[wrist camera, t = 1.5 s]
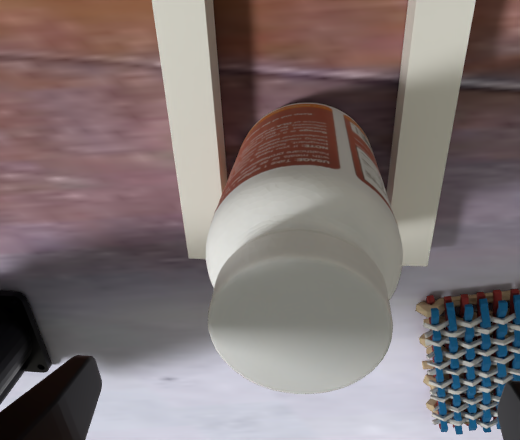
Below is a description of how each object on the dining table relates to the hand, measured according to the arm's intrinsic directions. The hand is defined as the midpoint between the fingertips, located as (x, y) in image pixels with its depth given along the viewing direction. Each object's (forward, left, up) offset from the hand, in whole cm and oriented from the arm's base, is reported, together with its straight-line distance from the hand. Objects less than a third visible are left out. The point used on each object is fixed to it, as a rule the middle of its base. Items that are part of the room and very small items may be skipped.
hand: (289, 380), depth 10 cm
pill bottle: (0, 0, -13) cm, 13 cm away
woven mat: (-12, -12, -13) cm, 21 cm away
